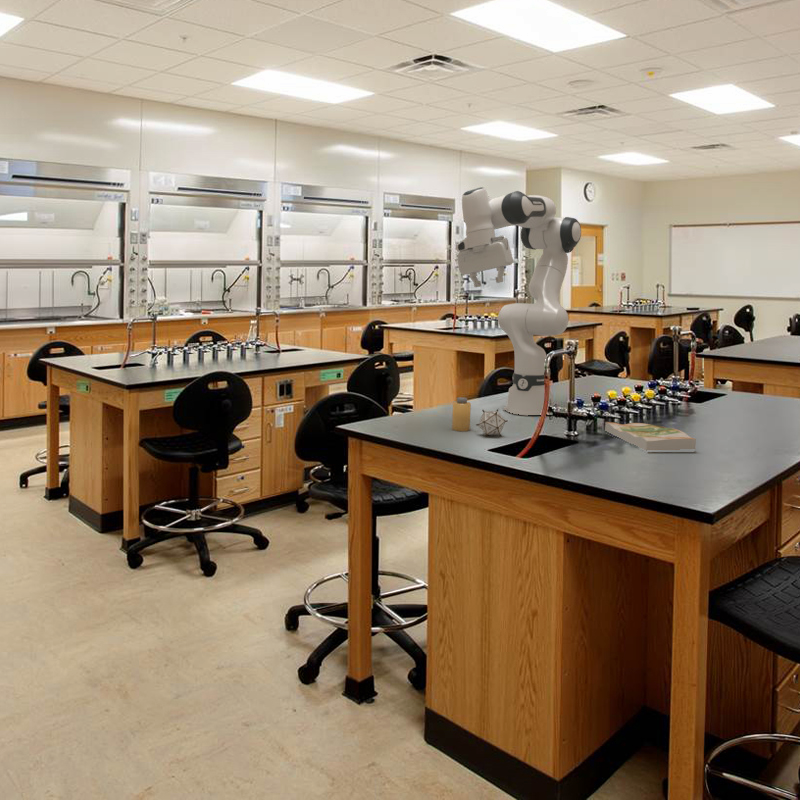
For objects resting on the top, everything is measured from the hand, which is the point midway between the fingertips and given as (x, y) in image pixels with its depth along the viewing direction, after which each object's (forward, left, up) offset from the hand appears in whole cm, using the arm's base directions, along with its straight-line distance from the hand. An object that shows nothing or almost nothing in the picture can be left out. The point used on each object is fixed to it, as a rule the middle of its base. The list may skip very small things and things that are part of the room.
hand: (488, 284), depth 247 cm
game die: (+13, +9, -46) cm, 48 cm away
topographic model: (-9, +50, -46) cm, 69 cm away
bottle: (+10, -3, -45) cm, 46 cm away
